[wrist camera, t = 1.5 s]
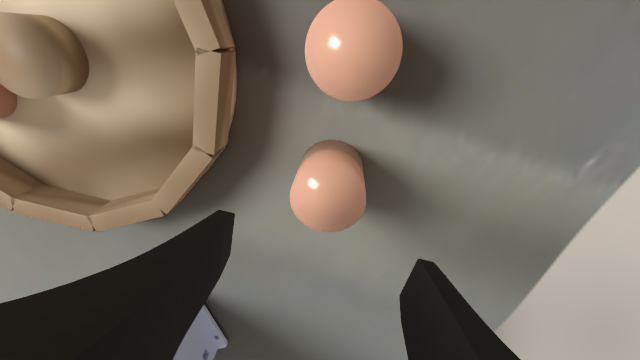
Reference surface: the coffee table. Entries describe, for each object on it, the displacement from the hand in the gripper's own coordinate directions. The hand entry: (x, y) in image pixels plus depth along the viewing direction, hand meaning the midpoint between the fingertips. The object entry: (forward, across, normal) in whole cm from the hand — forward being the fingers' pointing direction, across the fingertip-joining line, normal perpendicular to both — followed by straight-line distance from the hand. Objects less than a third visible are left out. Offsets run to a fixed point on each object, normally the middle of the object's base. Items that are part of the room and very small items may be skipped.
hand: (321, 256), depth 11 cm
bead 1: (+8, +1, -7) cm, 11 cm away
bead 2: (+8, 0, 0) cm, 8 cm away
